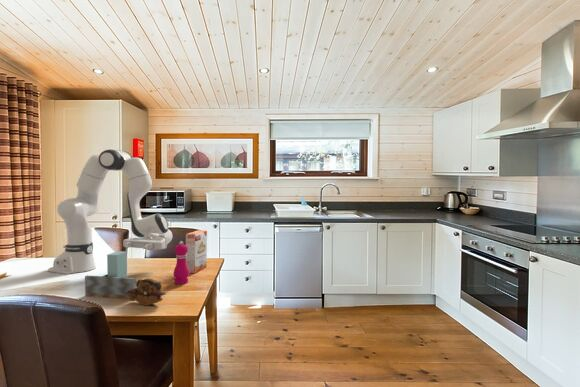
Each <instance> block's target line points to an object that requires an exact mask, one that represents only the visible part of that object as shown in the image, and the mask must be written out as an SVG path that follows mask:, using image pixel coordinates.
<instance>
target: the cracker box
mask: <svg viewBox="0 0 580 387" xmlns="http://www.w3.org/2000/svg"><path fill="white" fill-rule="evenodd" d="M185 245H186V246H187V248H188V251H187V253H186V254H187V255H186V256H187V257H186V264H187V267H188V269H189V274H196V273H198V272H200V271H201V270H204V269H205V268H207V266H208V265H207V260H208V259H207V258H208V254H207V253H208V252H207V251H208V230H201V229H199V230H195V231H192V232H188V233H186V234H185Z"/></svg>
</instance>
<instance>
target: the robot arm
mask: <svg viewBox="0 0 580 387" xmlns="http://www.w3.org/2000/svg"><path fill="white" fill-rule="evenodd" d="M81 170H82V171H81V173H80V175H79V177H78V180H77V183H76V187H77V195H76V197H71V198H67V199H63V201H61V202H59V204H58V205H57V207H56V208H57V209H56V211H57V214H58V216H59V217H60V218H62V220H63V222H64V224H65V227H66V231H67V233H66V234H67V244H65V245H64V246H63V247H62V248H63V249H64V248H65V249H64V251H63V252H62V253H61V254H59V255H58V256H57V257H55V258H54V260H53V264H52V267H50V268H48V269H47V272H50V273H58V274H64V275H68V274H69V275H70V274H73V273H74V274H75V273H82V272H84V273H85V272H88V271H89V272H90V271H92V270H94V269H96V264H95V260H94V255H93V254H94V252H93V249H94V243H93V235H92V234H93V233H92V231H93V229H92V227H91V226H90V225H89V223H88V220H87V218H88V217H91V216H93V215H94V214H96V213H97V212H98V211H99V208H100V204H99V194H100V190H101V187H102V186H103V184H104V181H105V178H106V176H107V174H108V172H110V171H114V172H115V171H116V172H117V171H118V172H119V171H123V172H124V173H125V175H126V178H127V180H128V183H129V184H128V185H129V187H128V188H129V189H128V192H127V193H126V198H127V204H128V210H129V211H128V212H129V216H130V222H131V223H130V224H131V225H130V226H131V228H130V230H131V232H132V234H133V235H134V236H136V237H131V238H130V237H129V238H126V239H125V238H124V239H123V242H122V244H123V245H122V246H123V247H124V248H127V249H128V248H131V249H132V248H133V249H134V248H135V249H142V250H147V251H154V250H166V249H167V246H168V244H169V243H171V242H172V239H173V232H172V231H171V230H170V229H169V222H168V220H167V218H166V217H165V216H164V215H163V214H161V213H155V214H151V215H149V216H145V217H142V213H141V206H140V202H141V200H142V198H143V197H144V196H146V194H149V191H150V190H151V189H152V187H153V181H152V177H151V174H150V172H149V171H150V170H148V167H147V166H146V163H145V161H144V160H143V159H142V158H140V157H133V156H132V155H131V154H130V153H129V152H127V151H123V150H119V149H106V150H105V149H104V150H103V151H102V152H101V153H100V154H94V155H92V156H90V157H89V158H88V160H87V161H86V163H85V164H84V167H83V168H82V169H81Z"/></svg>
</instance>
